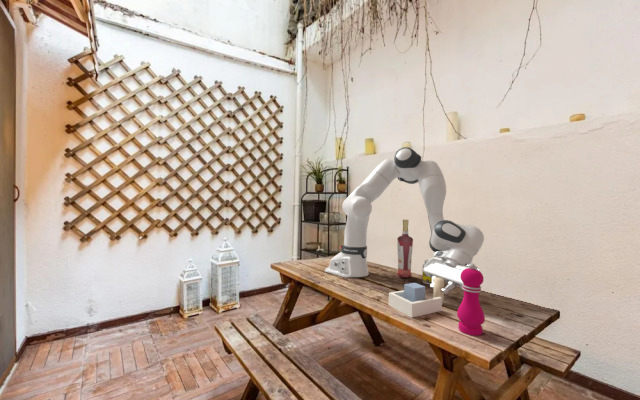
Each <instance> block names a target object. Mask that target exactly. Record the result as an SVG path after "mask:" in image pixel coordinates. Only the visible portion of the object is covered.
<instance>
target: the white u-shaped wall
mask: <svg viewBox="0 0 640 400" xmlns="http://www.w3.org/2000/svg"><path fill="white" fill-rule="evenodd" d="M388 306H390V307H391V308H393V309H395V310H396V311H399V312H400V313H402V314H404V315H406V316H408V317H409V318H415V317H421V316H424V315H429V314H434V313H438V312H442V310H443V309H442V308H443V305H442V298H441V297H435V298H433V297H432V298H427V299H426V298H425V300H420V301H415V302H411V301H409V300H407V299H404V289H403V290H398V291H391V292H389V293H388Z"/></svg>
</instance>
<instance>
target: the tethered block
mask: <svg viewBox="0 0 640 400" xmlns="http://www.w3.org/2000/svg"><path fill="white" fill-rule="evenodd" d="M442 287H445V282H444V279H443V278H438V277H436V278H434V289H433V297H432V298H435V297H441V298H442V306H443V305H444V304H445V302H444V301H445V293H442V291H441V289H442ZM403 290H404V299H407V300H409V301H411V302H415V301H420V300H425V299H426V286H425V285H422V284H419V283H417V282H410V283H405V284H403Z"/></svg>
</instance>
